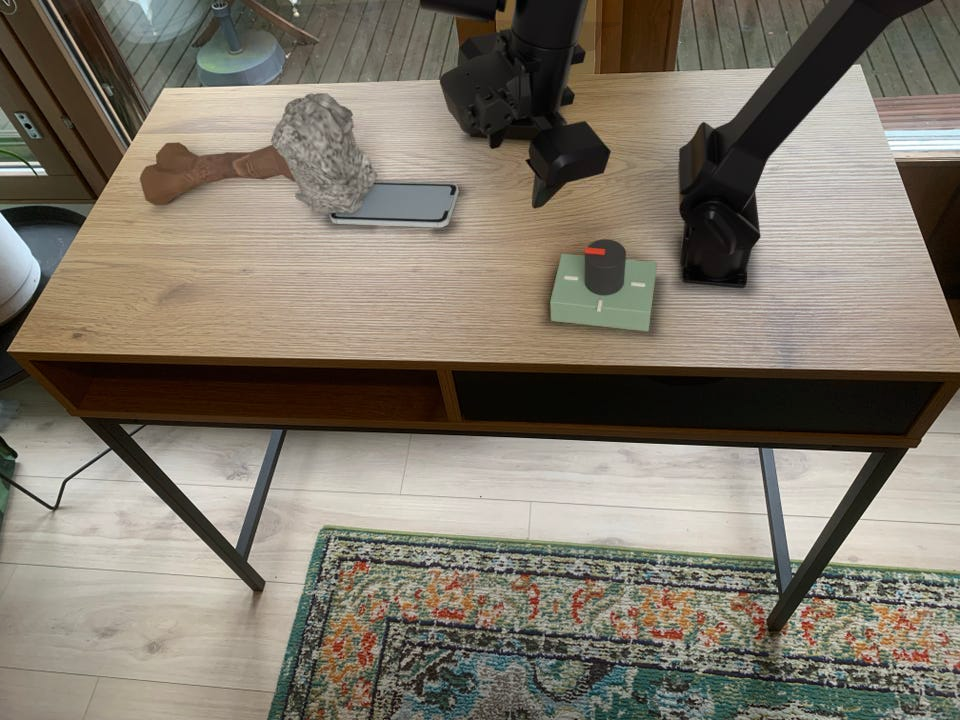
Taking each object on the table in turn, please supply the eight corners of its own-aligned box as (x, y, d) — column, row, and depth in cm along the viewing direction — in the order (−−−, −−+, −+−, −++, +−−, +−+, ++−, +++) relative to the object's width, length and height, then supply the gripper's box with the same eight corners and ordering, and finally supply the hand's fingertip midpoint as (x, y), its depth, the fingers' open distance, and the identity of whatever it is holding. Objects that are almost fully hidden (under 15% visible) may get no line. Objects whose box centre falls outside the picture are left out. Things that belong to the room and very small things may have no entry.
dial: (626, 269, 77) (628, 238, 73) (621, 297, 74) (623, 267, 71) (587, 265, 77) (587, 235, 74) (581, 293, 75) (581, 263, 72)
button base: (555, 105, 100) (554, 78, 97) (544, 141, 96) (543, 114, 93) (483, 102, 102) (480, 75, 99) (470, 137, 98) (466, 111, 95)
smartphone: (345, 180, 94) (459, 183, 91) (347, 186, 95) (460, 189, 92) (327, 219, 90) (446, 224, 86) (329, 225, 90) (447, 230, 87)
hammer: (202, 176, 104) (395, 161, 93) (178, 237, 100) (376, 228, 89) (127, 98, 91) (340, 71, 81) (96, 165, 87) (316, 144, 77)
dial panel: (655, 277, 79) (657, 256, 77) (647, 336, 75) (650, 315, 72) (562, 269, 82) (562, 248, 79) (549, 325, 77) (548, 305, 75)
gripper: (411, -17, 63) (403, 134, 76) (512, 115, 54) (484, 261, 67) (524, -32, 67) (500, 114, 80) (636, 89, 58) (588, 232, 71)
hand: (515, 176), depth 74 cm, fingers open, 9 cm apart
